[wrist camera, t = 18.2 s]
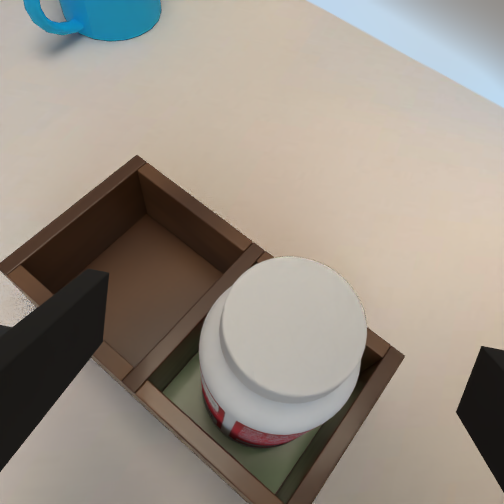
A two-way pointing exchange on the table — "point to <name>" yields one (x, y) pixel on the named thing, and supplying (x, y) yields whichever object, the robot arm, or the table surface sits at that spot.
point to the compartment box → (182, 322)
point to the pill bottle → (281, 351)
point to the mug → (99, 18)
